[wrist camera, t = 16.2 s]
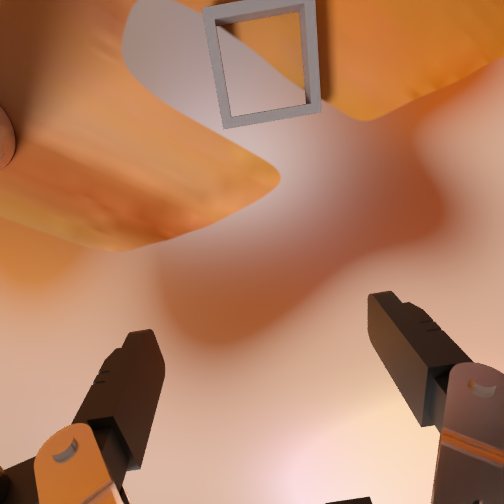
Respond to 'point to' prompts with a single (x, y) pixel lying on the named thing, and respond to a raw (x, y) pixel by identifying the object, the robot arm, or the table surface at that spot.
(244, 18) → the holder
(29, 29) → the table surface
